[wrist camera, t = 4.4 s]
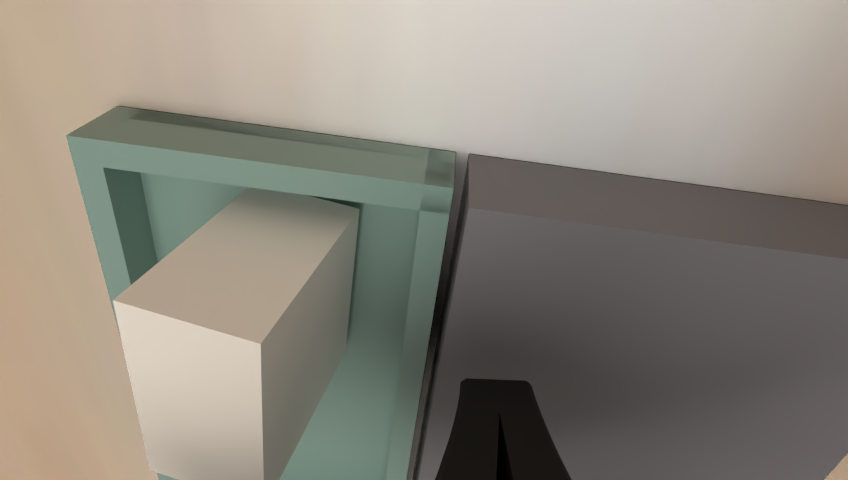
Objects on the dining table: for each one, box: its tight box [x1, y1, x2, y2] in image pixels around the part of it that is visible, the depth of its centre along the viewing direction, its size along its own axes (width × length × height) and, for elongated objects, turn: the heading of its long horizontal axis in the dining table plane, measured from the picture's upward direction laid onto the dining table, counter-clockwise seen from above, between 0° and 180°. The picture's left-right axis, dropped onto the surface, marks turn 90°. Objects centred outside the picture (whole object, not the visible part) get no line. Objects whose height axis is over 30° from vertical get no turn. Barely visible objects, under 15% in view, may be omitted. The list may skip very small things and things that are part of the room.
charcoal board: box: [412, 154, 848, 480], centre depth 15 cm, size 10×14×2 cm
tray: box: [66, 106, 456, 480], centre depth 15 cm, size 8×14×2 cm, turn 173°
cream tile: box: [113, 187, 360, 480], centre depth 11 cm, size 4×4×2 cm
